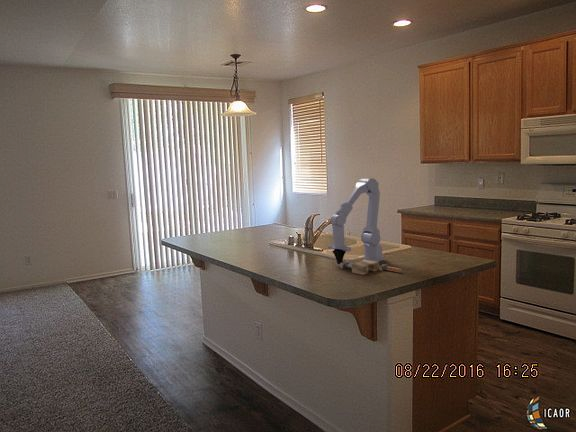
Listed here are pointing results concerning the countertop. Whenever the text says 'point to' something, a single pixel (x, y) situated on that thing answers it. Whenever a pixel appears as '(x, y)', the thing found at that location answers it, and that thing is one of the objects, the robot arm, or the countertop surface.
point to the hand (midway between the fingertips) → (339, 263)
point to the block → (365, 267)
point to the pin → (346, 264)
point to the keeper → (391, 268)
